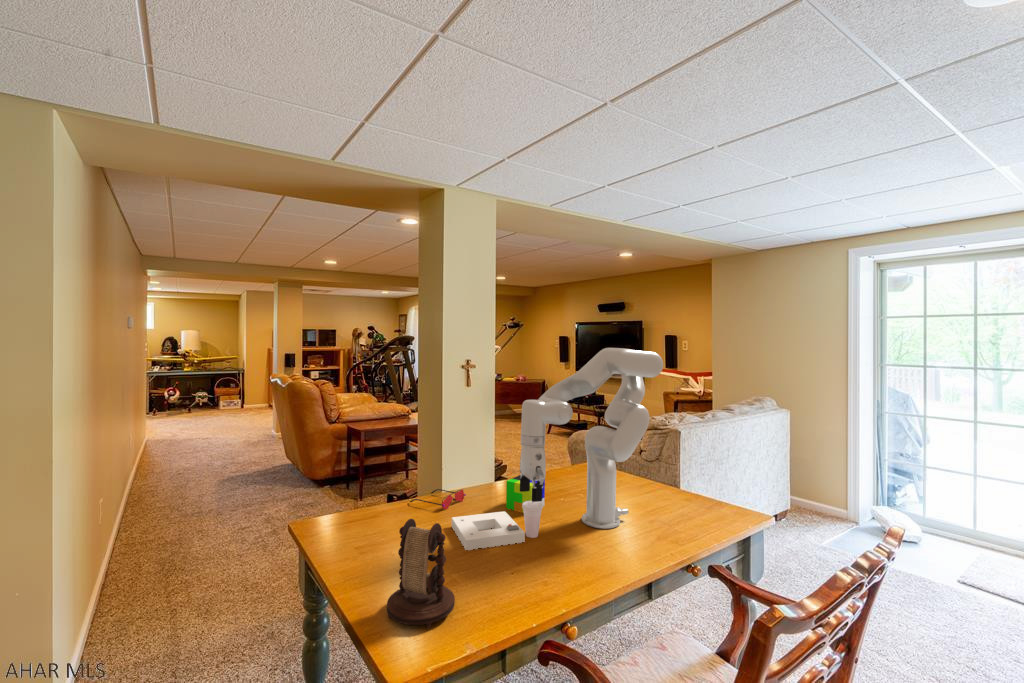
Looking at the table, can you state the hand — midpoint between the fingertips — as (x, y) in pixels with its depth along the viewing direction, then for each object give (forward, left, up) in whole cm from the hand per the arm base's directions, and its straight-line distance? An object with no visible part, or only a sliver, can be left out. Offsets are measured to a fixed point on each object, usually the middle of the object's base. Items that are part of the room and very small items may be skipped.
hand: (530, 496), depth 148 cm
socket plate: (+12, -5, -12) cm, 18 cm away
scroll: (+38, +30, -13) cm, 50 cm away
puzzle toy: (-8, -23, -13) cm, 27 cm away
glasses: (+21, -38, -13) cm, 46 cm away
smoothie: (-1, 0, -12) cm, 12 cm away
